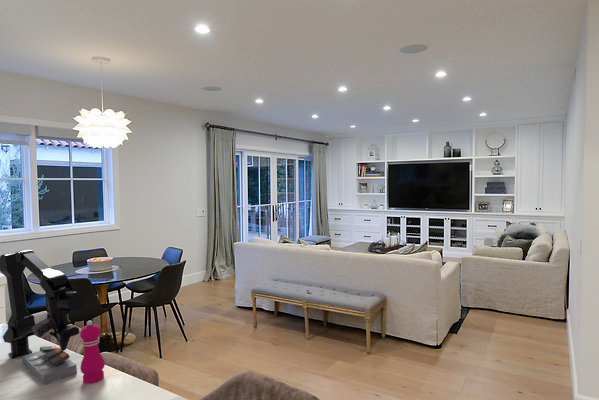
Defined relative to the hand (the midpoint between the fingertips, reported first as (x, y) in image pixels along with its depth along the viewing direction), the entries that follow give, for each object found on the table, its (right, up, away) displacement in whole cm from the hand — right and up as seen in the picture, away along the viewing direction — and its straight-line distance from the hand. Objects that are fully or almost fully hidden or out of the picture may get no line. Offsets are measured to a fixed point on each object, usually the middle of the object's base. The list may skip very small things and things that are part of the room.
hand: (63, 350), depth 147 cm
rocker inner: (-6, -1, +2) cm, 7 cm away
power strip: (-3, -5, -3) cm, 7 cm away
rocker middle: (-2, -1, -2) cm, 3 cm away
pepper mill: (+17, -5, -12) cm, 22 cm away
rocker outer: (+3, -1, -6) cm, 7 cm away
